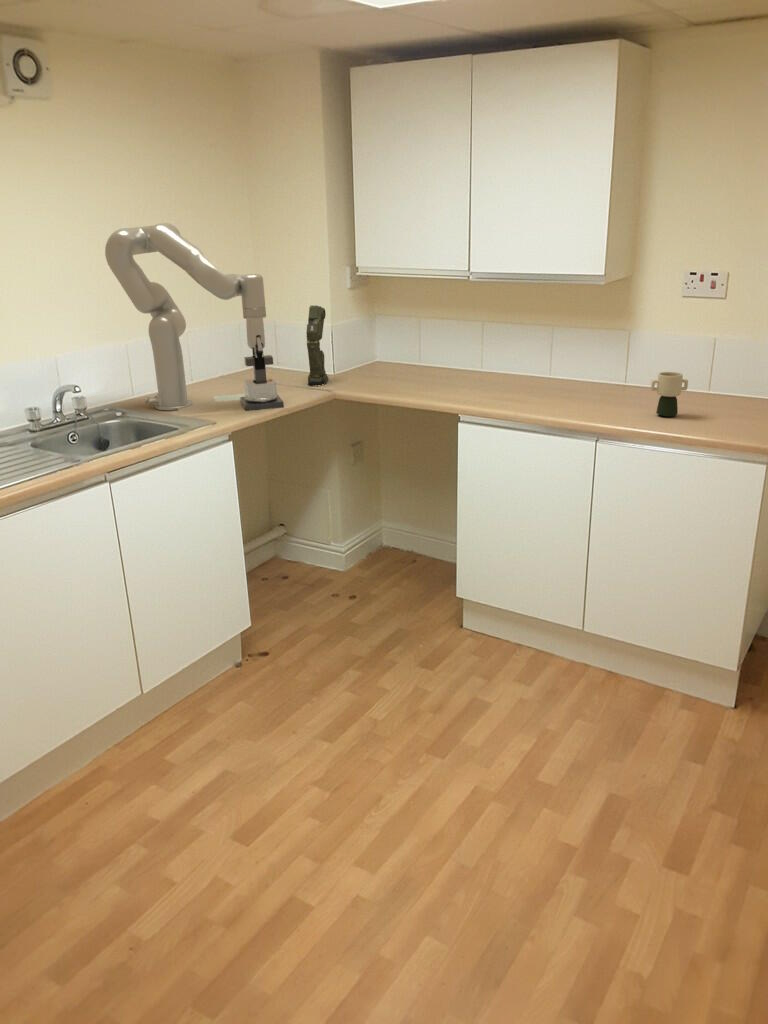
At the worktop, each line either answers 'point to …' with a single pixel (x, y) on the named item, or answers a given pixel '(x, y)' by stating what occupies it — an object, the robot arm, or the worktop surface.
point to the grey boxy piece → (260, 390)
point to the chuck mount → (262, 404)
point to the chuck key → (259, 374)
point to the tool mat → (228, 397)
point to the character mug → (668, 392)
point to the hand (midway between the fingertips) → (259, 367)
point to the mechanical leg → (316, 346)
